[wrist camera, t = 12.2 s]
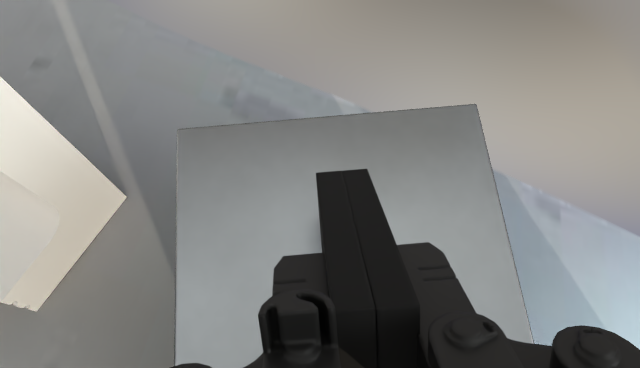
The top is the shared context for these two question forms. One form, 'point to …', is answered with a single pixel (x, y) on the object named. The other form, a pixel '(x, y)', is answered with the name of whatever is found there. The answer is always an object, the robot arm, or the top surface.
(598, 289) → the top surface
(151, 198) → the top surface
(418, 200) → the thin metal plate
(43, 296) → the block
